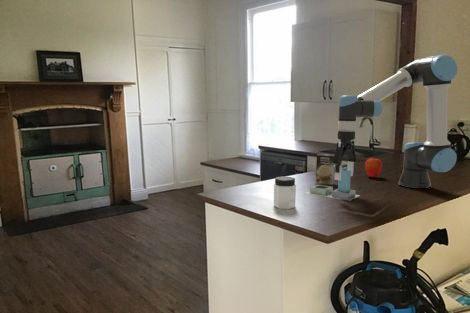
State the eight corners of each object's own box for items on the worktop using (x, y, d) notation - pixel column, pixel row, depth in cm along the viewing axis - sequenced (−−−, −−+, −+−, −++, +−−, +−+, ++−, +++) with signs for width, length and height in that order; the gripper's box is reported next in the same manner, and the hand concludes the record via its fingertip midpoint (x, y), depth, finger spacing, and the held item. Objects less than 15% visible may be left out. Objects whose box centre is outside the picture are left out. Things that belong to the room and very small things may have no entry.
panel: (360, 197, 175) (360, 190, 175) (350, 202, 166) (350, 194, 166) (316, 190, 189) (316, 183, 188) (304, 195, 180) (304, 187, 179)
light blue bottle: (349, 195, 174) (350, 167, 172) (346, 197, 171) (347, 168, 169) (341, 194, 177) (342, 166, 175) (337, 196, 174) (338, 167, 172)
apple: (361, 177, 222) (362, 156, 221) (369, 175, 228) (370, 155, 227) (376, 179, 216) (377, 158, 214) (384, 177, 222) (385, 157, 220)
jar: (282, 202, 166) (282, 175, 164) (298, 206, 161) (299, 177, 159) (270, 206, 159) (270, 178, 158) (286, 210, 154) (287, 181, 152)
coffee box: (314, 185, 201) (315, 154, 199) (316, 182, 207) (317, 153, 205) (332, 186, 198) (334, 155, 196) (333, 184, 204) (335, 154, 202)
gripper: (349, 128, 182) (346, 172, 185) (326, 131, 162) (323, 180, 165) (365, 129, 177) (362, 175, 180) (343, 132, 158) (340, 183, 161)
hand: (343, 177), depth 173 cm, fingers open, 13 cm apart
